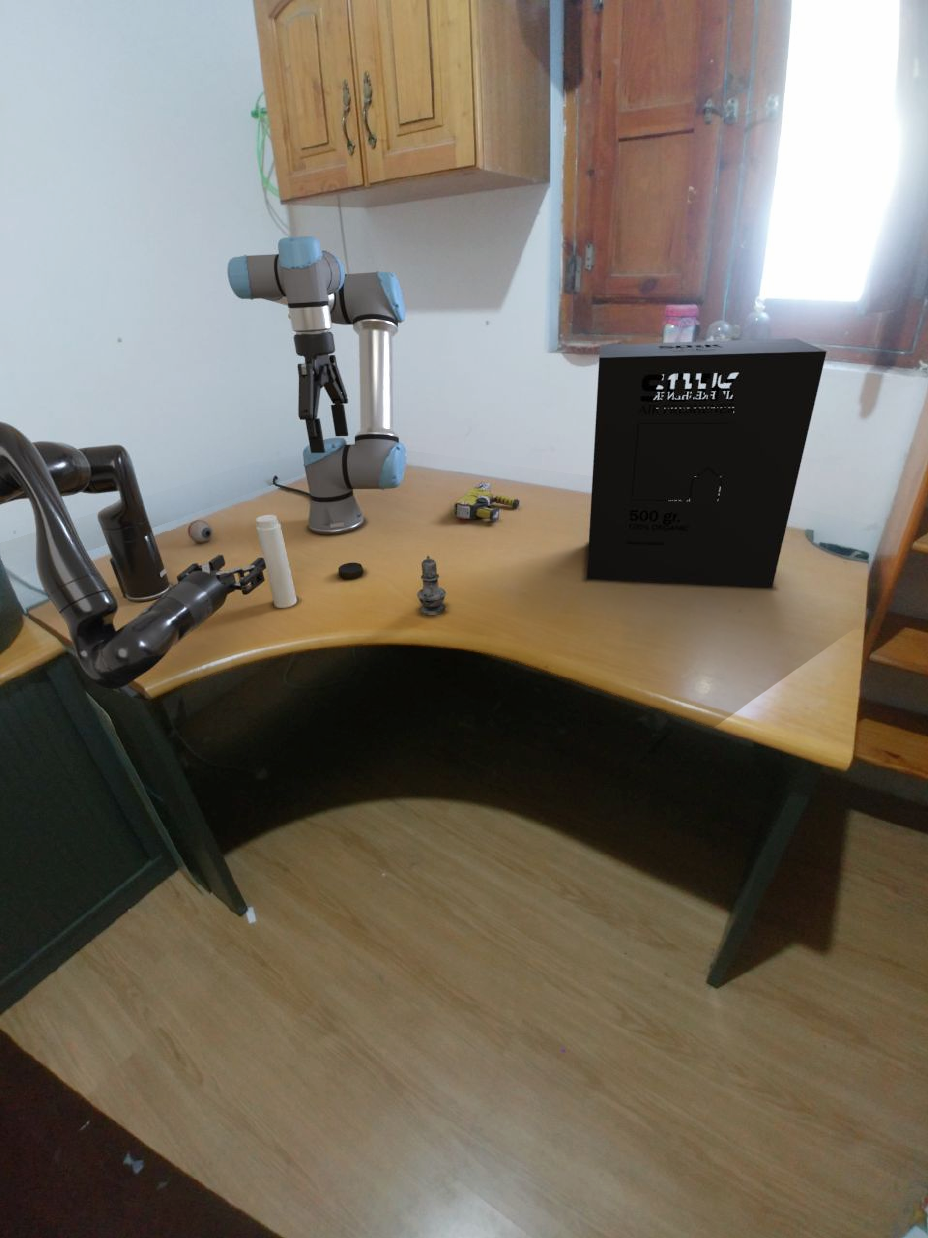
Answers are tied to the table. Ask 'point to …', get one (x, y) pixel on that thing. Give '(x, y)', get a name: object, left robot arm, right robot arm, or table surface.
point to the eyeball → (200, 531)
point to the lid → (350, 571)
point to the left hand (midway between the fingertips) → (242, 560)
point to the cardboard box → (698, 459)
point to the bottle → (276, 561)
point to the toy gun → (481, 504)
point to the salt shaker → (431, 589)
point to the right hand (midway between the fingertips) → (330, 443)
